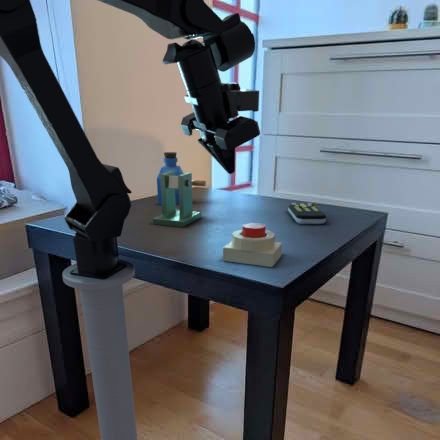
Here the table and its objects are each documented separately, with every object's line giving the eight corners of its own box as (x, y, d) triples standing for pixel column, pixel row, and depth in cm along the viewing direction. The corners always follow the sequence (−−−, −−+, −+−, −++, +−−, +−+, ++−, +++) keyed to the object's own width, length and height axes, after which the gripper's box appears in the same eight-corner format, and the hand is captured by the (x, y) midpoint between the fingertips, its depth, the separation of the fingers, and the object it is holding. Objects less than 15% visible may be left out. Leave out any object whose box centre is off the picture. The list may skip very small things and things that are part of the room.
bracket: (172, 214, 94) (170, 169, 90) (201, 217, 92) (200, 171, 88) (153, 224, 86) (150, 175, 82) (183, 227, 84) (182, 177, 80)
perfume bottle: (158, 204, 104) (155, 153, 99) (162, 199, 110) (159, 151, 105) (182, 204, 104) (181, 154, 99) (185, 199, 110) (184, 151, 105)
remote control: (297, 225, 86) (298, 215, 85) (287, 211, 98) (287, 202, 97) (327, 224, 86) (328, 215, 85) (313, 211, 98) (314, 202, 97)
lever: (181, 187, 95) (181, 176, 94) (205, 189, 93) (206, 178, 92) (160, 187, 86) (160, 175, 85) (186, 189, 84) (187, 177, 83)
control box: (271, 268, 63) (273, 242, 61) (222, 261, 65) (222, 236, 64) (281, 255, 68) (283, 231, 67) (235, 249, 71) (236, 226, 69)
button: (261, 240, 63) (262, 229, 63) (239, 238, 65) (239, 227, 64) (267, 234, 66) (268, 224, 66) (246, 232, 68) (246, 221, 67)
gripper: (276, 64, 61) (297, 163, 70) (219, 62, 75) (243, 144, 85) (211, 96, 59) (242, 193, 68) (165, 88, 73) (196, 169, 82)
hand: (231, 172), depth 76 cm, fingers closed
